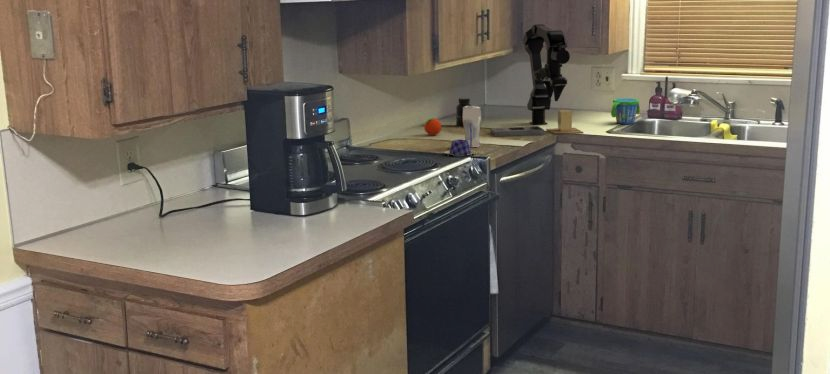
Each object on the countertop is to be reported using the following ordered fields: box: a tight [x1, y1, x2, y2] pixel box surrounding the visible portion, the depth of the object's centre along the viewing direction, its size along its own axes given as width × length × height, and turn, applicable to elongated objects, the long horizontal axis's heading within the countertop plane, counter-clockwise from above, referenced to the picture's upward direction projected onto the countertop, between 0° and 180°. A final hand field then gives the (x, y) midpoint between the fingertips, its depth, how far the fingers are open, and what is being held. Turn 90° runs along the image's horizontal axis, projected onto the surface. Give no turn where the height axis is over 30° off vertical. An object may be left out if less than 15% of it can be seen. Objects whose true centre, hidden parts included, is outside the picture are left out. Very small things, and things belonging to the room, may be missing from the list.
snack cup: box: [610, 97, 641, 125], centre depth 389 cm, size 16×10×10 cm
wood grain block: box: [557, 109, 573, 131], centre depth 372 cm, size 4×4×8 cm
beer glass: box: [462, 105, 482, 148], centre depth 342 cm, size 7×7×15 cm
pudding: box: [443, 139, 478, 155], centre depth 328 cm, size 12×12×5 cm
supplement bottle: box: [455, 97, 472, 127], centre depth 392 cm, size 7×7×12 cm
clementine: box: [423, 117, 442, 136], centre depth 370 cm, size 8×7×7 cm
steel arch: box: [489, 125, 545, 138], centre depth 370 cm, size 10×20×2 cm, turn 97°
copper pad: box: [546, 127, 584, 136], centre depth 372 cm, size 12×12×1 cm
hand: (553, 99), depth 375 cm, fingers open, 9 cm apart
